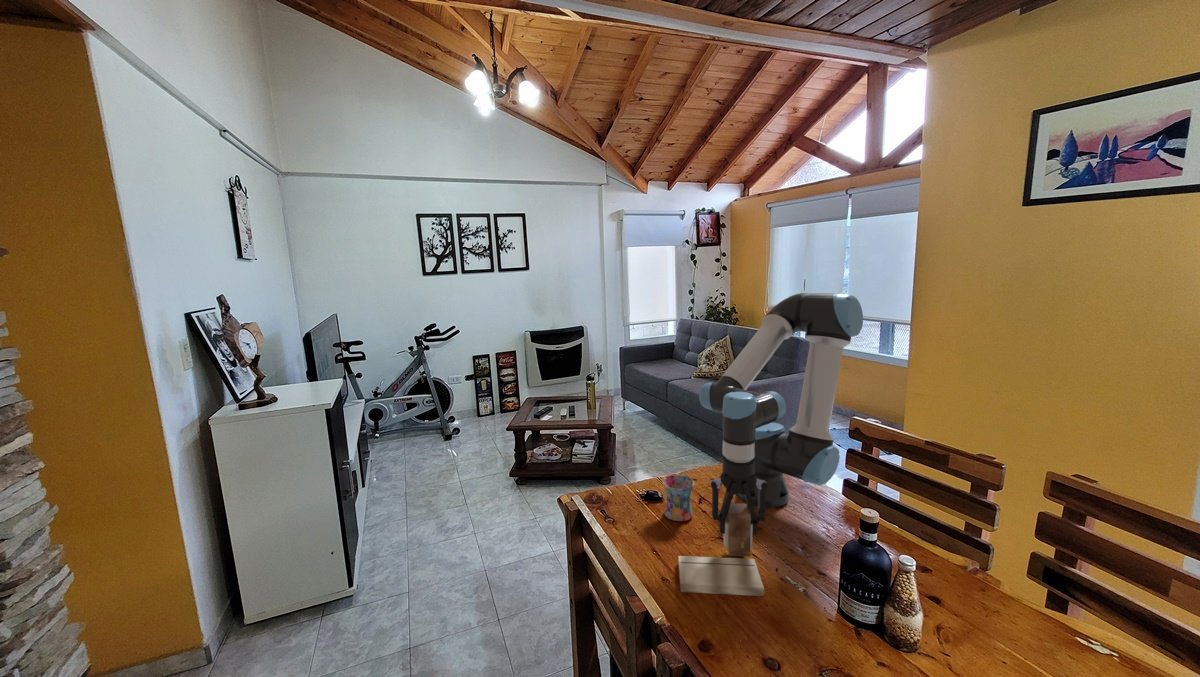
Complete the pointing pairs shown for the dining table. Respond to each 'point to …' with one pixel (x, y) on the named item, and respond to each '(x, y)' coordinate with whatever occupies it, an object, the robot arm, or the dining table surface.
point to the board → (719, 576)
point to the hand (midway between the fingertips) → (737, 544)
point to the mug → (678, 497)
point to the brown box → (739, 530)
